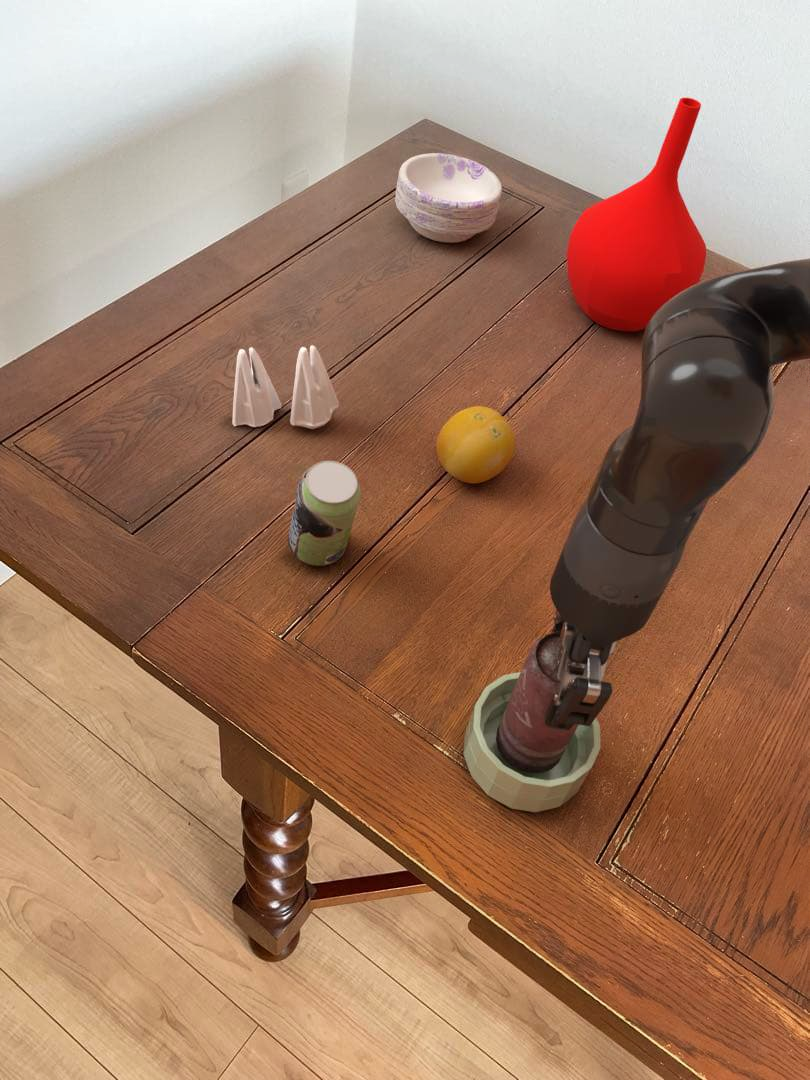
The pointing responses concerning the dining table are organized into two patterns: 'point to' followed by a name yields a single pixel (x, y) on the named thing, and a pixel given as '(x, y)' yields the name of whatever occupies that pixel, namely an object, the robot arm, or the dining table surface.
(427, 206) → the paper bowls
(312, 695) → the dining table surface
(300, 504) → the beverage can
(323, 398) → the shaker set
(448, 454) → the fruit
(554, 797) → the sage bowl
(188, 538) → the dining table surface
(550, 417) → the dining table surface
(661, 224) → the vase
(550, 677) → the can
